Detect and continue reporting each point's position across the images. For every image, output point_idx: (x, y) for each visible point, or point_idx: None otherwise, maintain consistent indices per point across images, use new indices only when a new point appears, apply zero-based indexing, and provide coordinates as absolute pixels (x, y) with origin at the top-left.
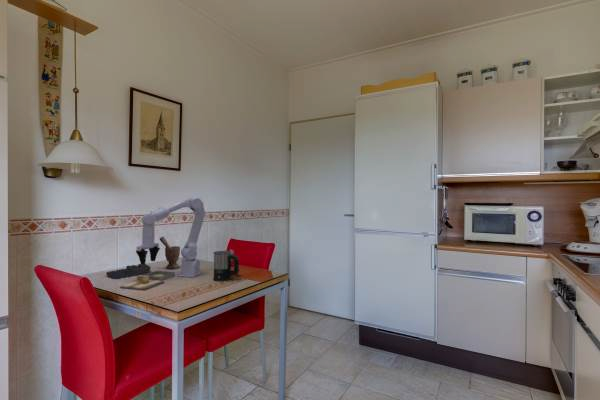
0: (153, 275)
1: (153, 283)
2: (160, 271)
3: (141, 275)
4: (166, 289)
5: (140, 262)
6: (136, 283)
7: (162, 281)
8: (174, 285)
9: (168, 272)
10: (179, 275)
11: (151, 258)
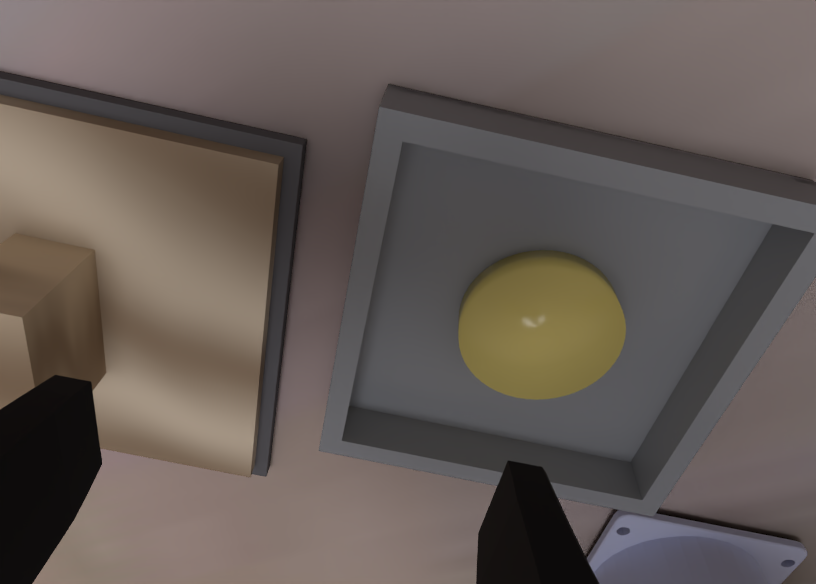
0: (502, 282)
1: (107, 428)
2: (757, 314)
3: (2, 349)
4: (60, 543)
5: (19, 397)
6: (11, 231)
7: (243, 471)
8: (207, 561)
9: (673, 437)
10: (610, 526)
11: (513, 543)
